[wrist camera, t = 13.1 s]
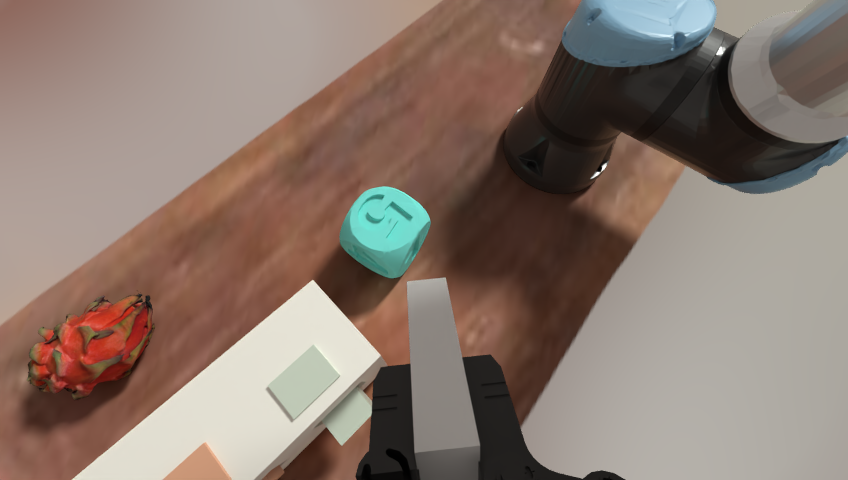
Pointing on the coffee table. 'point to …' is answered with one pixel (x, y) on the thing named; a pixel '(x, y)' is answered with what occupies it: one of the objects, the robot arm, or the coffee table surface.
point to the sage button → (349, 415)
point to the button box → (251, 400)
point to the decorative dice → (385, 230)
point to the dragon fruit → (92, 346)
